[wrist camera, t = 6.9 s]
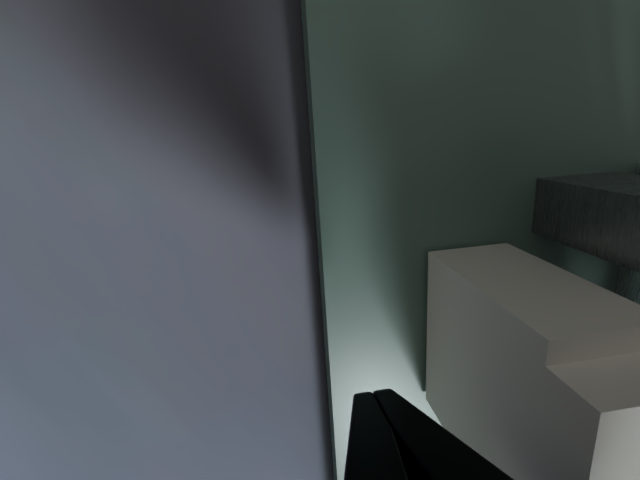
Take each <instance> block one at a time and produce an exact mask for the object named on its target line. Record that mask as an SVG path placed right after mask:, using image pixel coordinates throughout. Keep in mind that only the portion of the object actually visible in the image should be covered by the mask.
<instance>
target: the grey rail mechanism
mask: <svg viewBox="0 0 640 480" xmlns="http://www.w3.org/2000/svg"><path fill="white" fill-rule="evenodd" d="M531 232H532V233H535V234H538V235H540V236H543V237H546V238H548V239H551V240H554V241H556V242H559V243H561V244H564V245H567V246H569V247H572V248H575V249H577V250H580V251H582V252H585V253H588V254H590V255H593V256H596V257H598V258H601V259H603V260H606V261H609V262H611V263H614V264H617V265H619V266H620V268H619V274H618V279H617V285H616V291H615V294H618V295H620V296H622V297H624V298H626V299H628V300H631V301H633V302H635V303H637V304H639V305H640V162H638V164H637V169H636V174H630V173H622V172H613V171H611V172H600V173H589V174H577V175H566V176H555V177H544V178H537V181H536V191H535V201H534V211H533V221H532V231H531Z"/></svg>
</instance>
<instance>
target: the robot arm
mask: <svg viewBox="0 0 640 480" xmlns="http://www.w3.org/2000/svg"><path fill="white" fill-rule="evenodd" d="M344 480H514V479H513V478H511V477H510V476H509V475H507V474H506V473H505V472H503V471H502V470H501V469H499V468H498V467H496V466H495V465H494V464H492V463H491V462H490V461H488V460H487V459H486V458H484V457H483V456H482V455H480V454H479V453H478V452H476V451H475V450H473V449H472V448H471V447H469V446H468V445H467V444H465V443H464V442H463V441H461V440H460V439H459V438H457V437H456V436H455V435H453V434H452V433H451V432H449V431H448V430H446V429H445V428H444V427H442V426H441V425H440V424H438V423H437V422H436V421H434V420H433V419H432V418H430V417H429V416H428V415H426V414H425V413H423V412H422V411H421V410H419V409H418V408H417V407H415V406H414V405H413V404H411V403H410V402H409V401H407V400H406V399H405V398H403V397H402V396H400V395H399V394H398V393H396V392H395V391H394V390H392V389H382V390H376V391H374V392H373V393H372V392H362V393H356V394H354V396H353V404H352V412H351V421H350V430H349V438H348V447H347V455H346V464H345V473H344Z"/></svg>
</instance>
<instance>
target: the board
mask: <svg viewBox="0 0 640 480" xmlns="http://www.w3.org/2000/svg"><path fill="white" fill-rule="evenodd" d="M300 2H301V16H302V30H303V45H304V59H305V73H306V87H307V102H308V116H309V130H310V145H311V159H312V173H313V188H314V202H315V216H316V230H317V245H318V259H319V273H320V288H321V302H322V316H323V330H324V345H325V359H326V373H327V388H328V402H329V416H330V431H331V445H332V459H333V473H334V480H344V473H345V464H346V455H347V447H348V438H349V430H350V421H351V412H352V404H353V396H354V394H356V393H362V392H372V393H373V392H374V391H376V390H382V389H392V390H394V391H395V392H396V393H398V394H399V395H400V396H402V397H403V398H405V399H406V400H407V401H409V402H410V403H411V404H413V405H414V406H415V407H417V408H418V409H419V410H421V411H422V412H423V413H425V414H426V415H428V416H429V417H430V418H432V419H433V420H434V421H436V422H437V423H438V424H440V425H441V423H440V421H439V420H438V418H437V416H436V415H435V413H434V411H433V410H432V408H431V406H430V405H429V403H428V401H427V400H426V349H427V294H428V252H430V251H439V250H448V249H457V248H466V247H475V246H484V245H493V244H502V243H508V244H510V245H512V246H514V247H516V248H518V249H521V250H523V251H525V252H527V253H529V254H531V255H534V256H536V257H538V258H540V259H542V260H544V261H546V262H549V263H551V264H553V265H555V266H557V267H559V268H562V269H564V270H566V271H568V272H570V273H572V274H575V275H577V276H579V277H581V278H583V279H585V280H587V281H590V282H592V283H594V284H596V285H598V286H600V287H603V288H605V289H607V290H609V291H611V292H613V293H615V291H616V285H617V279H618V274H619V268H620V266H619V265H617V264H614V263H611V262H609V261H606V260H603V259H601V258H598V257H596V256H593V255H590V254H588V253H585V252H582V251H580V250H577V249H575V248H572V247H569V246H567V245H564V244H561V243H559V242H556V241H554V240H551V239H548V238H546V237H543V236H540V235H538V234H535V233H532V232H531V231H532V221H533V211H534V201H535V191H536V181H537V178H544V177H555V176H566V175H577V174H589V173H600V172H611V171H613V172H622V173H630V174H636V169H637V164H638V162H640V0H300ZM441 426H442V425H441ZM442 427H443V426H442Z"/></svg>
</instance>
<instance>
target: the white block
mask: <svg viewBox="0 0 640 480" xmlns="http://www.w3.org/2000/svg"><path fill="white" fill-rule="evenodd" d="M426 400H427V401H428V403H429V405H430V406H431V408H432V410H433V411H434V413H435V415H436V416H437V418H438V420H439V421H440V423H441V425H442V426H443V427H444V428H445V429H446V430H448V431H449V432H451V433H452V434H453V435H455V436H456V437H457V438H459V439H460V440H461V441H463V442H464V443H465V444H467V445H468V446H469V447H471V448H472V449H473V450H475V451H476V452H478V453H479V454H480V455H482V456H483V457H484V458H486V459H487V460H488V461H490V462H491V463H492V464H494V465H495V466H496V467H498V468H499V469H501V470H502V471H503V472H505V473H506V474H507V475H509V476H510V477H511V478H513V479H514V480H640V305H639V304H637V303H635V302H633V301H631V300H628V299H626V298H624V297H622V296H620V295H618V294H615V293H613V292H611V291H609V290H607V289H605V288H603V287H600V286H598V285H596V284H594V283H592V282H590V281H587V280H585V279H583V278H581V277H579V276H577V275H575V274H572V273H570V272H568V271H566V270H564V269H562V268H559V267H557V266H555V265H553V264H551V263H549V262H546V261H544V260H542V259H540V258H538V257H536V256H534V255H531V254H529V253H527V252H525V251H523V250H521V249H518V248H516V247H514V246H512V245H510V244H508V243H502V244H493V245H484V246H475V247H466V248H457V249H448V250H439V251H430V252H428V294H427V349H426Z"/></svg>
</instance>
